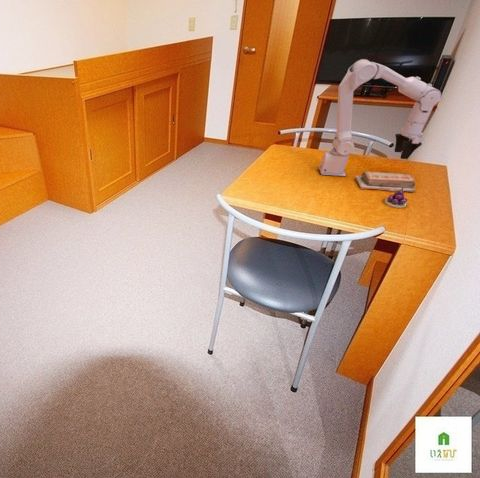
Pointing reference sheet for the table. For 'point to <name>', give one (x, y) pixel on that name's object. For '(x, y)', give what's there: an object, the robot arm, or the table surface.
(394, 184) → the packaged product
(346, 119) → the robot arm
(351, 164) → the table surface
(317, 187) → the table surface
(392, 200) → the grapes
